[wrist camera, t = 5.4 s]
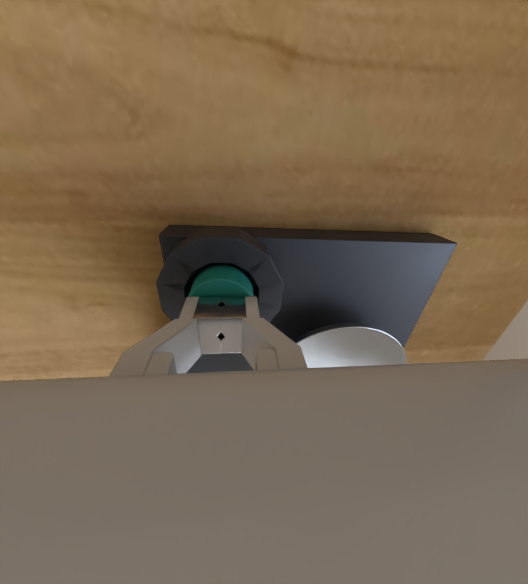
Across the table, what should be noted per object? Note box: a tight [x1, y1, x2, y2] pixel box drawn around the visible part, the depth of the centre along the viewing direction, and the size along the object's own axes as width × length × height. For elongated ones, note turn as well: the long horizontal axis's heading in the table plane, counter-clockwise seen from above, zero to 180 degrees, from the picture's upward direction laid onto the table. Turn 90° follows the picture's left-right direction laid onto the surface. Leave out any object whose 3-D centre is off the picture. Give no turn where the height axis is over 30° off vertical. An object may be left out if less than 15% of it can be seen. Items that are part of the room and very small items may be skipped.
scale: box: [156, 225, 457, 373], centre depth 15 cm, size 16×14×4 cm
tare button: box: [188, 265, 254, 297], centre depth 11 cm, size 3×3×2 cm
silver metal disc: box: [292, 323, 406, 368], centre depth 15 cm, size 10×10×1 cm
